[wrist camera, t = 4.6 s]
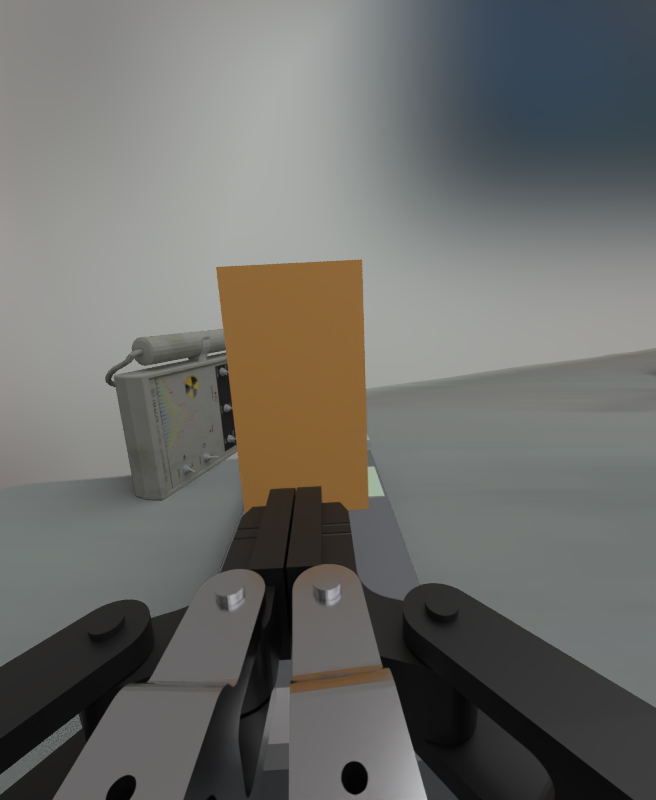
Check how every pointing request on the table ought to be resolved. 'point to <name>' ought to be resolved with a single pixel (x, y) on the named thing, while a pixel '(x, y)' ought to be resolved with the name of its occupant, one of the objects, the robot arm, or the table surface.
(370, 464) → the console
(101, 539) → the table surface
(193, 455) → the geiger counter
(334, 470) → the panel
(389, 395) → the table surface
